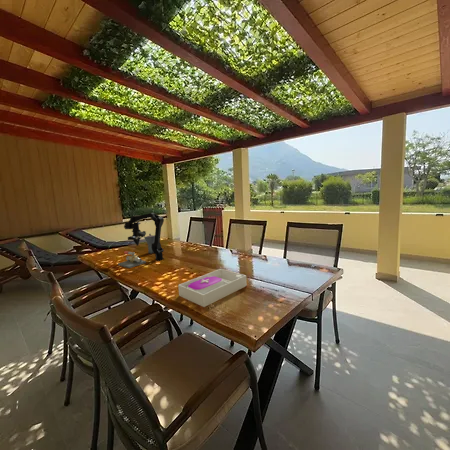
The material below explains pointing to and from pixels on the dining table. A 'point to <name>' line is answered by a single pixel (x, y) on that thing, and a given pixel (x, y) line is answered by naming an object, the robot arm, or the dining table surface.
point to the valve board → (130, 264)
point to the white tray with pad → (212, 286)
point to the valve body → (133, 259)
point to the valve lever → (129, 252)
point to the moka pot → (150, 242)
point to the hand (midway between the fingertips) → (137, 245)
